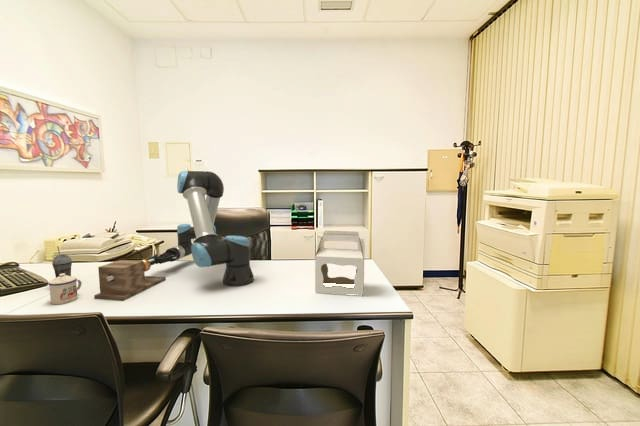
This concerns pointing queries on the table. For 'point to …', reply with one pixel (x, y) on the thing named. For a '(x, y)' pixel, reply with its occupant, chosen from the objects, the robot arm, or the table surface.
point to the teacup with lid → (64, 289)
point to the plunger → (146, 268)
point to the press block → (124, 280)
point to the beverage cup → (62, 264)
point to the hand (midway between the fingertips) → (144, 265)
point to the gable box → (339, 263)
